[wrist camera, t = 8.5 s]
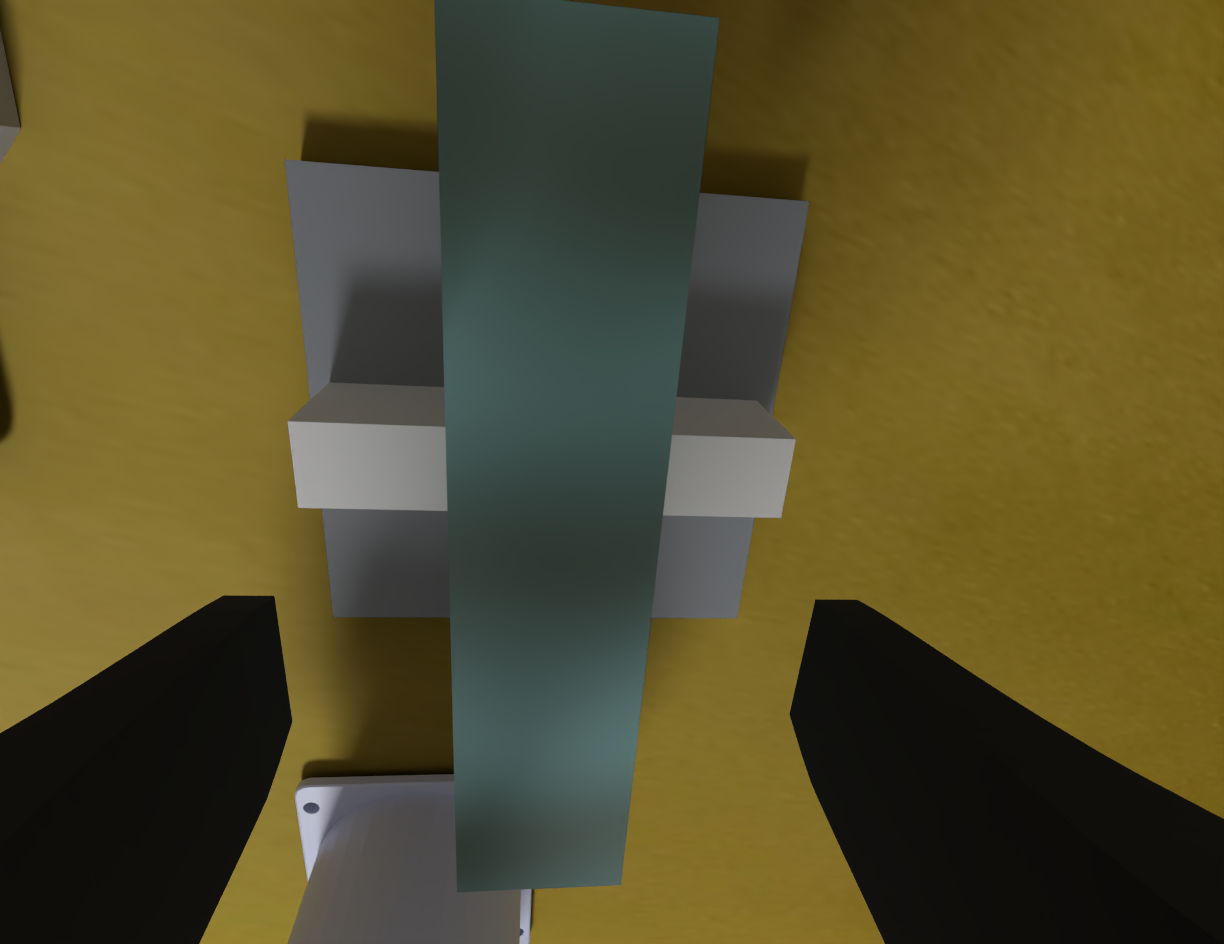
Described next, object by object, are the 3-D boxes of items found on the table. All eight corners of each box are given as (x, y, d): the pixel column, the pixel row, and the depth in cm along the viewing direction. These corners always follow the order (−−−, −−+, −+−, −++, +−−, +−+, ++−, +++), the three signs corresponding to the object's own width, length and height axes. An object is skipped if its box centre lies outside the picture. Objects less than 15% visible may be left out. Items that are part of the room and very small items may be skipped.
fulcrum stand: (728, 600, 22) (767, 684, 18) (342, 597, 20) (299, 688, 17) (794, 200, 17) (864, 204, 13) (300, 161, 16) (226, 154, 12)
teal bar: (604, 744, 18) (620, 885, 15) (473, 747, 18) (457, 892, 14) (664, 68, 12) (719, 17, 8) (467, 48, 12) (434, -14, 8)
